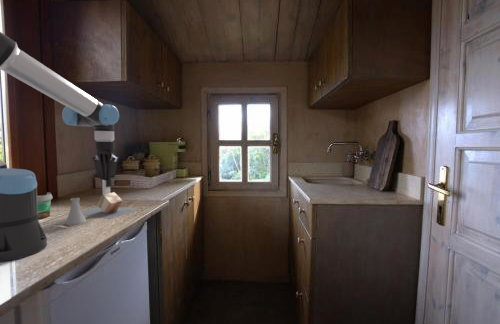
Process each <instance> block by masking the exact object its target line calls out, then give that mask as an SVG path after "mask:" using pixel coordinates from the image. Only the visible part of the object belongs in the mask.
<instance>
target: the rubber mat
mask: <svg viewBox="0 0 500 324" xmlns="http://www.w3.org/2000/svg"><path fill="white" fill-rule="evenodd" d="M135 211H139V209H137V208H129V207H121V206H119V208H118V210H117V211H114V212H110V213H107V214H105V213H104V212H103V211H102V210H101V208H100V207H99V206H97V207H92V208H89V209H84V210H82V213H83V215H84V217H91V218H92V217H94V218H98V219H99V218H100V219H108V220H111V219H113V218H116V217H120V216H124V215H127V214H129V213H134V212H135Z"/></svg>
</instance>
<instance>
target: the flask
mask: <svg viewBox="0 0 500 324" xmlns="http://www.w3.org/2000/svg"><path fill="white" fill-rule="evenodd" d="M69 200H70V203H71V204H70V209H69V213H68V216H67V218H66V221H65V226H69V227H72V226H78V225H82V224H86V223H87V219H86V216H84V215H83V213H82V211H83V210H82V208H81V205H80V200H81V198H80V197H72V198H70V199H69Z"/></svg>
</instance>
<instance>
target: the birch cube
mask: <svg viewBox="0 0 500 324" xmlns="http://www.w3.org/2000/svg"><path fill="white" fill-rule="evenodd" d="M122 203H123V199H122V198H121V197H120V196H119V195H118V194H117V193H116V192H115V191H113V192H110V193H108V194H103V193H102V195H101V197H100V199H99V200H98V202H97V204H96V206H97V207H100V208H101V210H102V211H103V212H104V213H105V214H107V213H110V212H114V211H117V210H118V208H119V207H121V205H122Z"/></svg>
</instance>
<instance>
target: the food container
mask: <svg viewBox="0 0 500 324" xmlns="http://www.w3.org/2000/svg"><path fill="white" fill-rule="evenodd" d="M53 198H54V197H53V195H52V192H49V191H48V192H46V194H43V195H37V203H38V221H39V220H43V219H47V218H49V217H50V216H51V206H52V205H51V200H53Z"/></svg>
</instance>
